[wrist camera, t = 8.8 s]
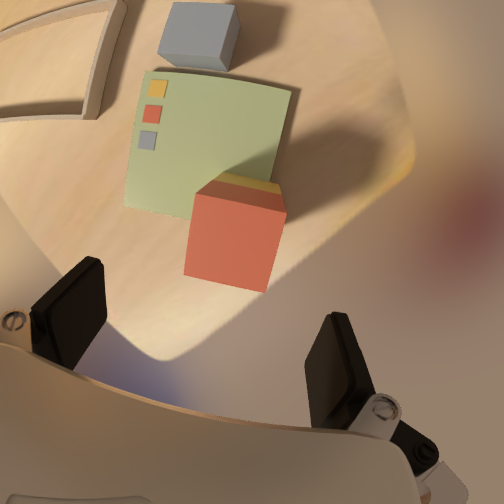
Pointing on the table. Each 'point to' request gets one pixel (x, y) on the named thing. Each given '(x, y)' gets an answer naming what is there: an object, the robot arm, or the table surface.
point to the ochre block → (249, 182)
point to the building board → (199, 137)
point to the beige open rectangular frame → (102, 58)
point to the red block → (234, 235)
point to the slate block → (200, 35)
